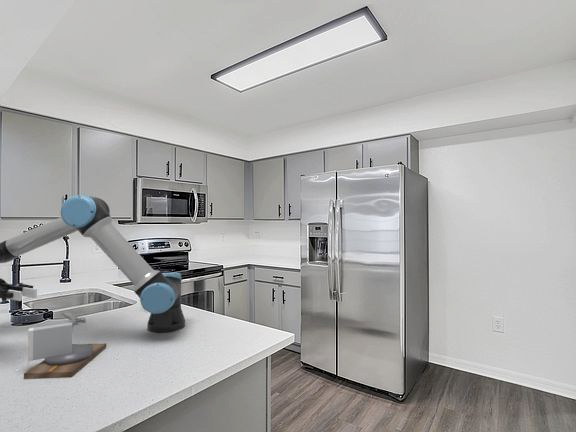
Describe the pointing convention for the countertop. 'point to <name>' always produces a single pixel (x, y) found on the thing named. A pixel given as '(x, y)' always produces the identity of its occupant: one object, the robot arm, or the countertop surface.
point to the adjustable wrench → (73, 318)
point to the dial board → (62, 366)
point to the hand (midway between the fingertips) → (28, 294)
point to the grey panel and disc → (56, 345)
